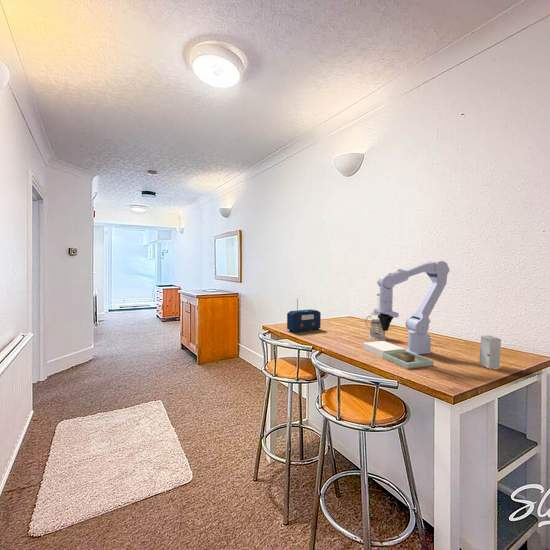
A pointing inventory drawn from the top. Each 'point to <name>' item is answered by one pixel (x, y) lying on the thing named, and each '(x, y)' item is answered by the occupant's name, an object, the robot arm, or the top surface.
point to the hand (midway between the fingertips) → (385, 330)
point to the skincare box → (490, 351)
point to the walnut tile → (406, 357)
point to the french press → (377, 323)
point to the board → (381, 347)
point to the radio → (303, 320)
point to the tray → (418, 363)
